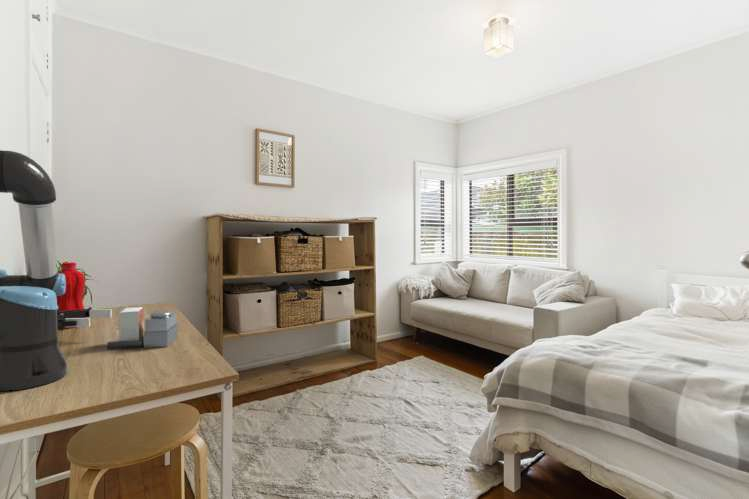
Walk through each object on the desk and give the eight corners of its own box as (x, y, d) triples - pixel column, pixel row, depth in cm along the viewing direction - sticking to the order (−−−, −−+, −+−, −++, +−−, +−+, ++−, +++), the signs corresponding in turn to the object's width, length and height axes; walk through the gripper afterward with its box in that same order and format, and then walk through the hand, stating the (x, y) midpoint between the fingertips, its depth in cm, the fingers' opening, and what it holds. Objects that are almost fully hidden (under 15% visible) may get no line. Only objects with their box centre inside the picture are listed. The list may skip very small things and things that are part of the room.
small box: (139, 343, 125) (138, 311, 125) (119, 344, 123) (118, 312, 123) (144, 337, 132) (143, 306, 132) (125, 338, 130) (124, 307, 130)
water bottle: (76, 321, 157) (75, 261, 156) (89, 325, 152) (88, 262, 151) (48, 326, 149) (47, 262, 148) (60, 330, 144) (59, 263, 143)
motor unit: (167, 346, 125) (167, 315, 124) (107, 349, 121) (106, 317, 121) (177, 337, 136) (177, 309, 135) (122, 339, 132) (122, 310, 132)
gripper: (52, 322, 134) (119, 320, 138) (-5, 342, 109) (79, 339, 113) (51, 300, 134) (118, 299, 138) (-5, 316, 109) (78, 314, 113)
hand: (101, 317), depth 125 cm, fingers open, 13 cm apart
